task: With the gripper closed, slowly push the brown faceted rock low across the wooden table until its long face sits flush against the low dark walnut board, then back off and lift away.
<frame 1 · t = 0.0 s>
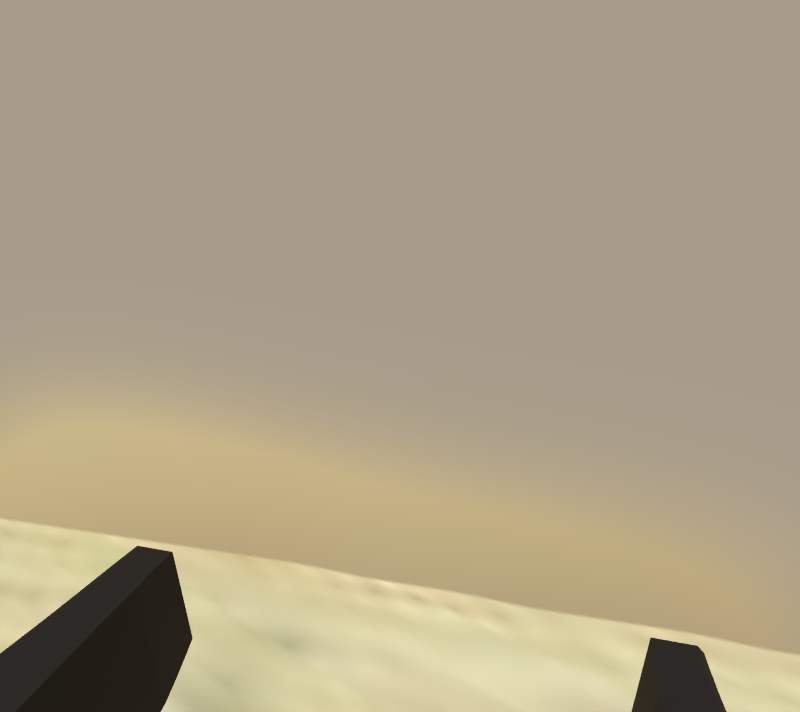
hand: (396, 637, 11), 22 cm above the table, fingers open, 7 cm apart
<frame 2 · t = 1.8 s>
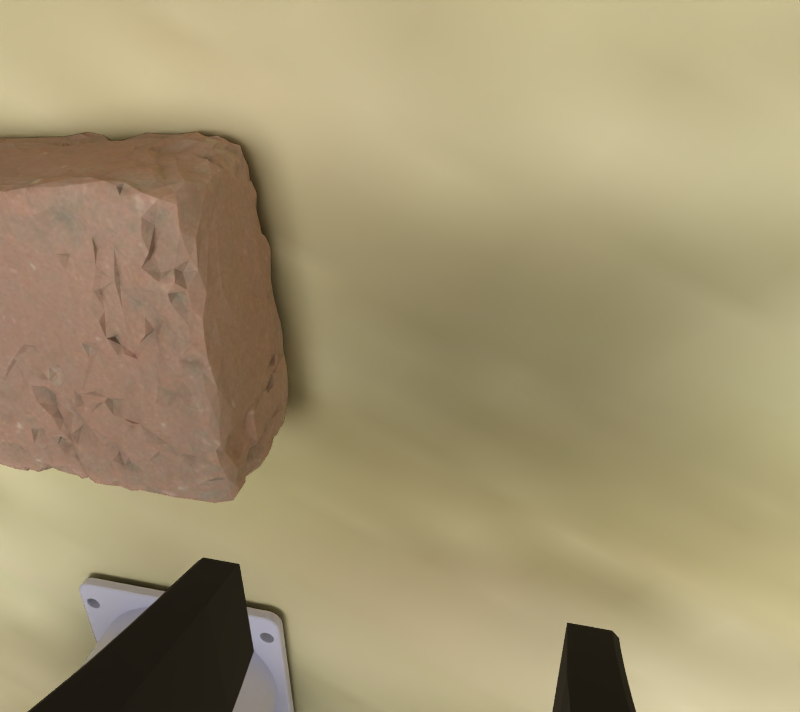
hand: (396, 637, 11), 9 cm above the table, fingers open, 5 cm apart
brown faceted rock: (31, 272, 22), on the table
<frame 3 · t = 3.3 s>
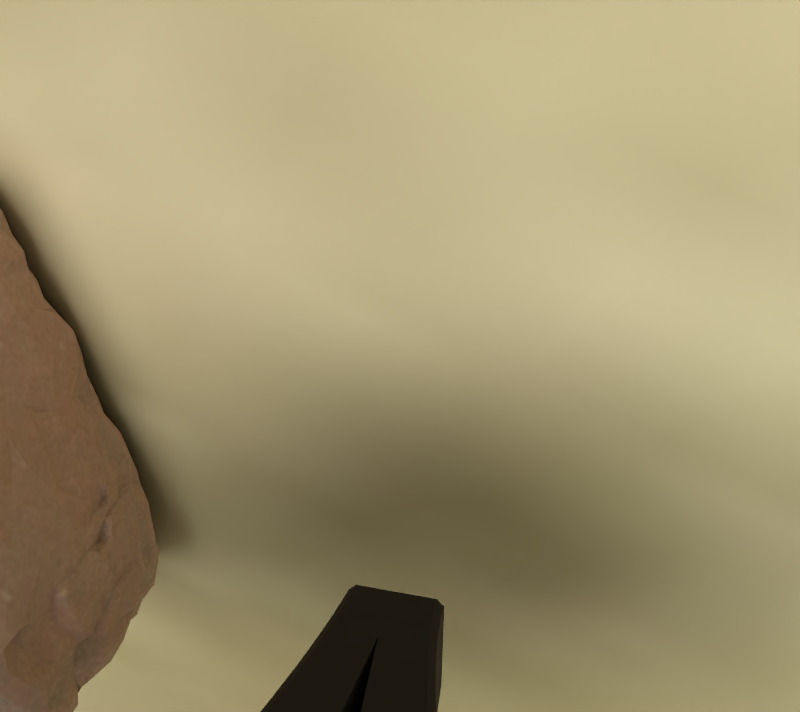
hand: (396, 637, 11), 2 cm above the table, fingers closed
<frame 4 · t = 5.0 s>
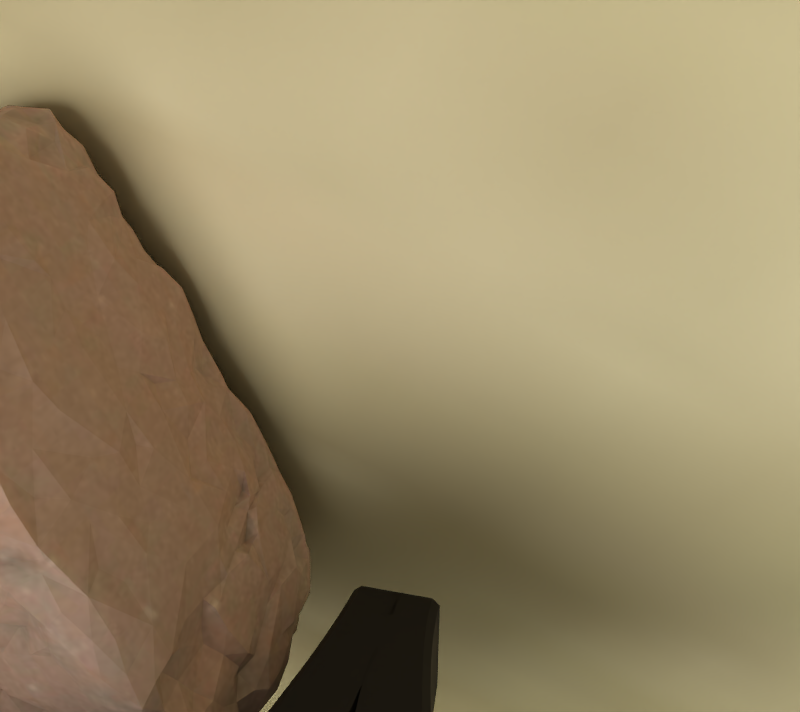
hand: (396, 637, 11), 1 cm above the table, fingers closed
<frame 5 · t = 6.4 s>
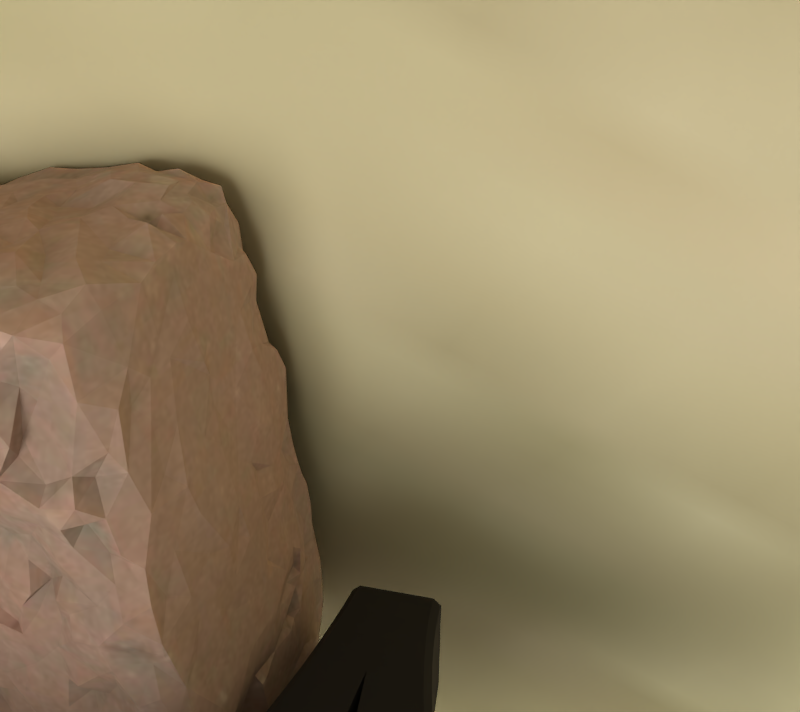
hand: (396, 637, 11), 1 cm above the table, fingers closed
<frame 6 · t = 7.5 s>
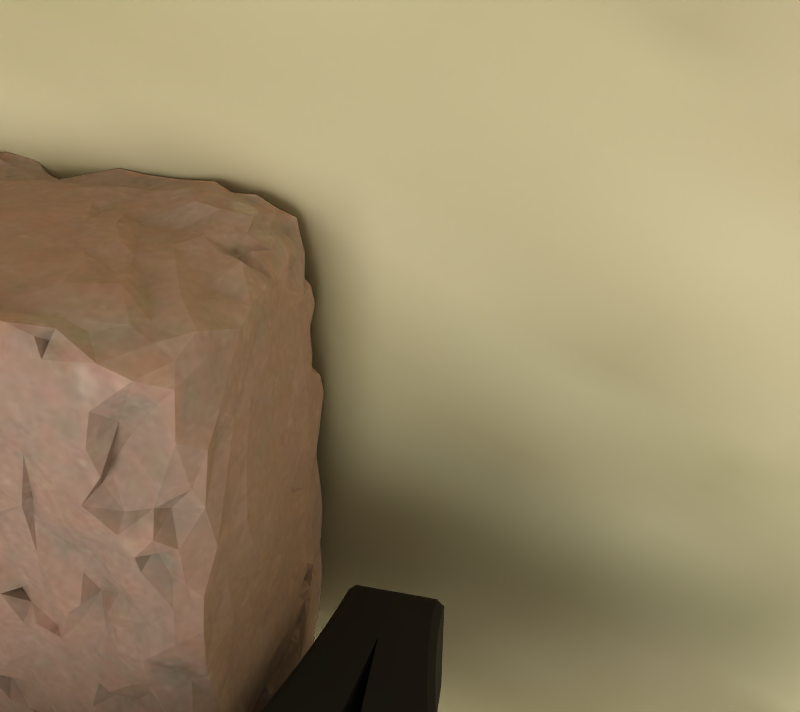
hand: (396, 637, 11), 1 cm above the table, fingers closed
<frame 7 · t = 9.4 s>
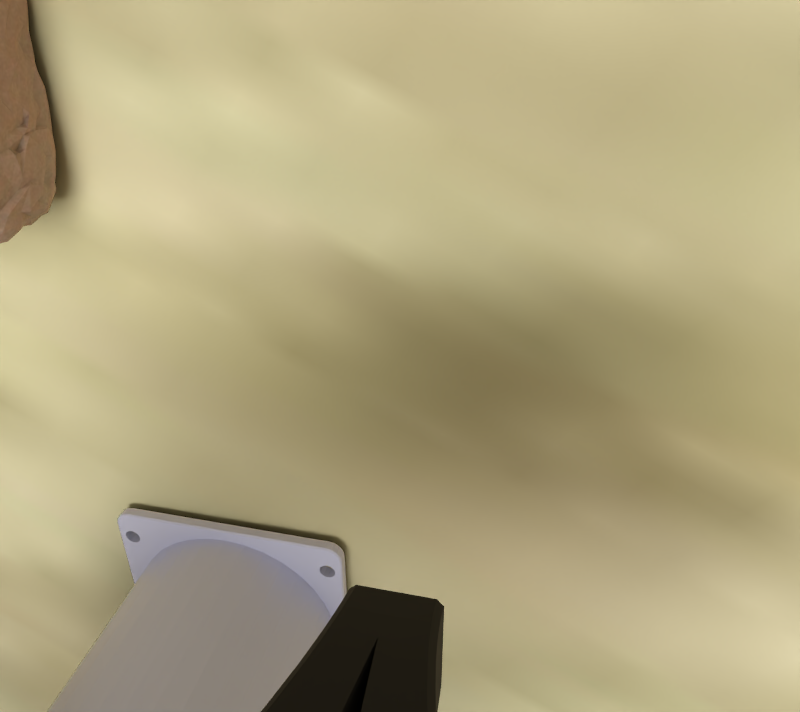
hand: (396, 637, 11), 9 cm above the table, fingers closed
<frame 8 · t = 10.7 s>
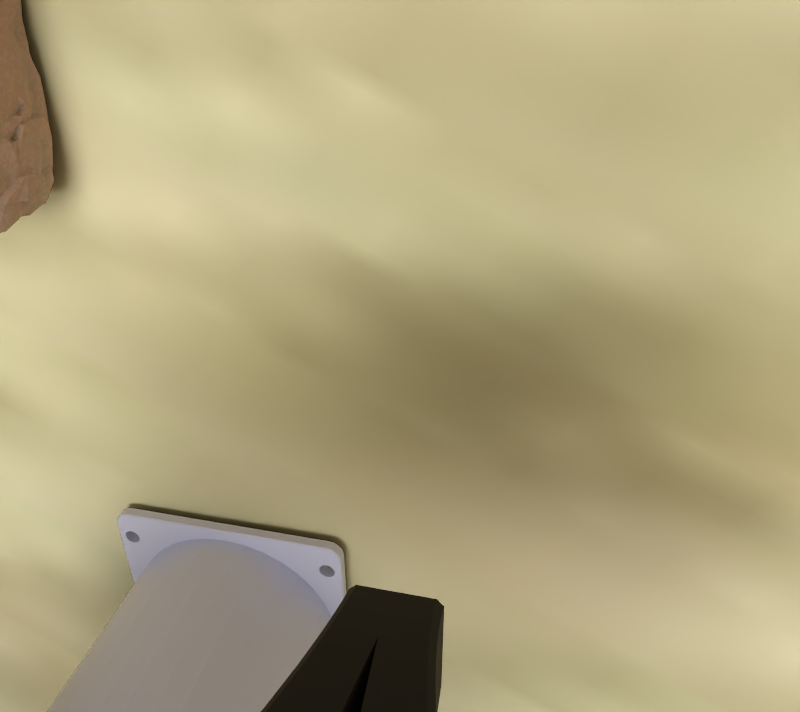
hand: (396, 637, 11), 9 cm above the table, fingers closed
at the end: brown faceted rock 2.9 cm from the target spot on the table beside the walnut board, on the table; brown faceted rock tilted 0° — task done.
